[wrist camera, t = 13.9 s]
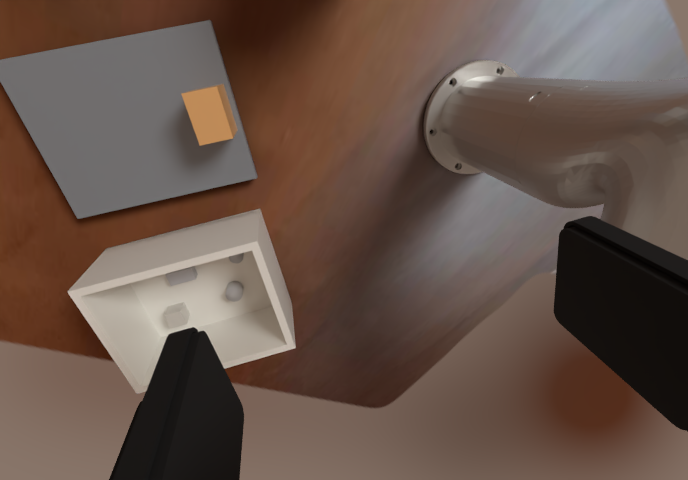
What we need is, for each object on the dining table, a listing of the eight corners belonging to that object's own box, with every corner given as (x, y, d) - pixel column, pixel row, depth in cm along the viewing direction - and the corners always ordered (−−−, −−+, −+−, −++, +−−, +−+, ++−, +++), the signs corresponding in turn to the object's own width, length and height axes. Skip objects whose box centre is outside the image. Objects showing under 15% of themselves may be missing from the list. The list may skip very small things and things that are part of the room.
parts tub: (259, 208, 43) (257, 241, 35) (291, 302, 49) (295, 348, 41) (106, 248, 42) (67, 291, 34) (159, 339, 48) (136, 394, 40)
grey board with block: (213, 22, 35) (200, 12, 28) (257, 172, 42) (255, 192, 35) (5, 62, 33) (-58, 61, 27) (87, 211, 40) (52, 239, 34)
